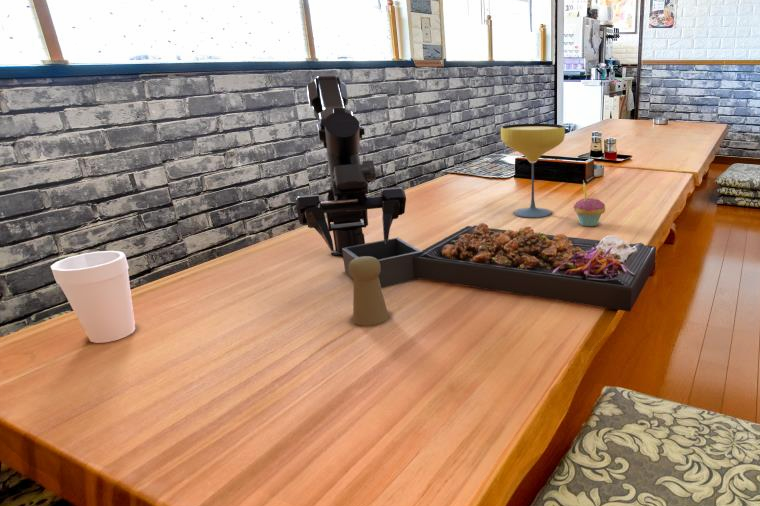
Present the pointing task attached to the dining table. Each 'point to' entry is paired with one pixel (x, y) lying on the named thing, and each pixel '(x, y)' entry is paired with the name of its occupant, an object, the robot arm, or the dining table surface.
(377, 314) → the cork
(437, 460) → the dining table surface
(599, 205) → the cupcake
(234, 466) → the dining table surface
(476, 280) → the food platter
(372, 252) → the dark grey open box
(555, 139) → the cocktail glass
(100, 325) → the foam cup
